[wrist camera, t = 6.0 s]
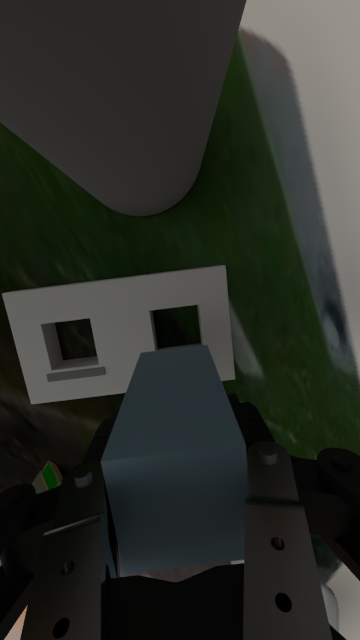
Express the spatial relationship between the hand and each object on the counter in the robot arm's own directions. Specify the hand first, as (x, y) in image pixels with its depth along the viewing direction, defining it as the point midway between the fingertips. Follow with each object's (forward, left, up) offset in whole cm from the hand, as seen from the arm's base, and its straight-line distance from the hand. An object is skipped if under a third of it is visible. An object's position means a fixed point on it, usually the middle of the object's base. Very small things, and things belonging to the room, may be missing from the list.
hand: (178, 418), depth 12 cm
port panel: (0, -5, -19) cm, 19 cm away
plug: (0, 0, -4) cm, 4 cm away
